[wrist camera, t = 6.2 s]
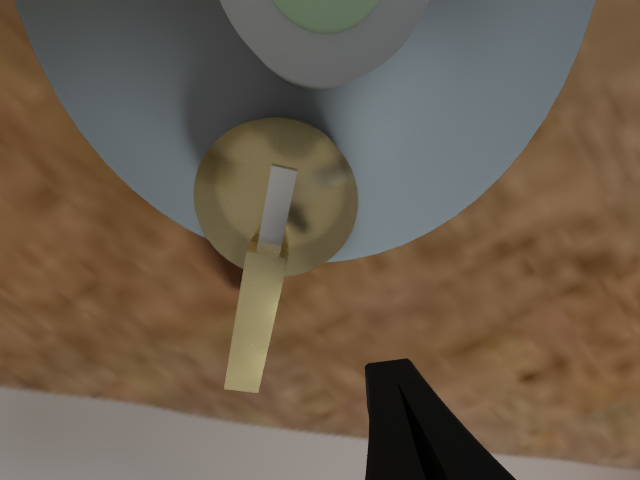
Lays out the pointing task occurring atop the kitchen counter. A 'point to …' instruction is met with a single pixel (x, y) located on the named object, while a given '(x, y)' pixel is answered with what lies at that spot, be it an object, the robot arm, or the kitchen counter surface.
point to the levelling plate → (314, 91)
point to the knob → (271, 220)
